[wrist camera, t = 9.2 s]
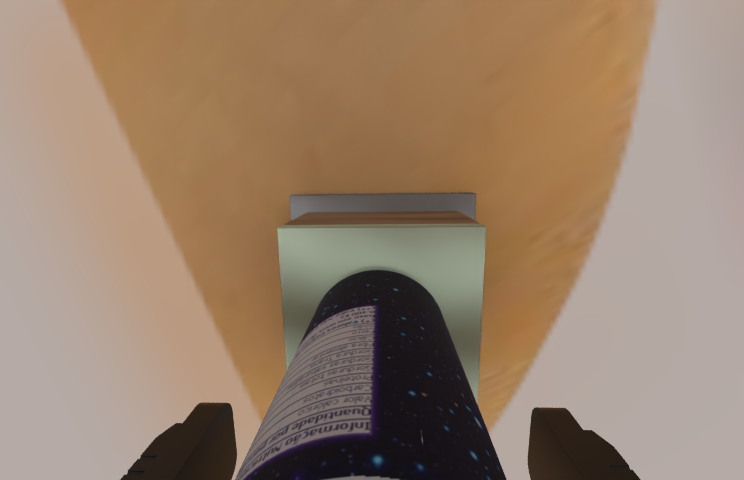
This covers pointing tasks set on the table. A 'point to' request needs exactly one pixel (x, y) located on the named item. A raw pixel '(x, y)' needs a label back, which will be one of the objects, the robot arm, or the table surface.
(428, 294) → the beverage can
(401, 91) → the table surface
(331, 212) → the block
